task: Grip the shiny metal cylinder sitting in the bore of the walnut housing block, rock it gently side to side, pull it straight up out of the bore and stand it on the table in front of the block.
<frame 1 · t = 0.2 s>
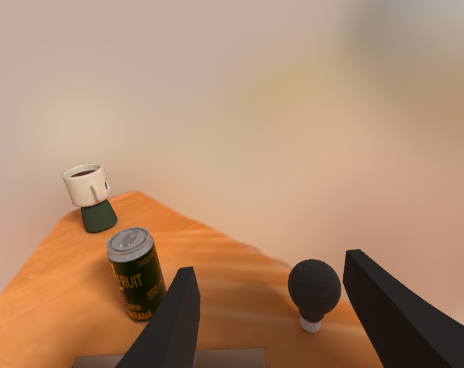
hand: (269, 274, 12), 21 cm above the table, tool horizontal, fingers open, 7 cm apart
green drink can: (150, 309, 36), on the table
character mug: (102, 226, 56), on the table
light bulb: (309, 328, 32), on the table
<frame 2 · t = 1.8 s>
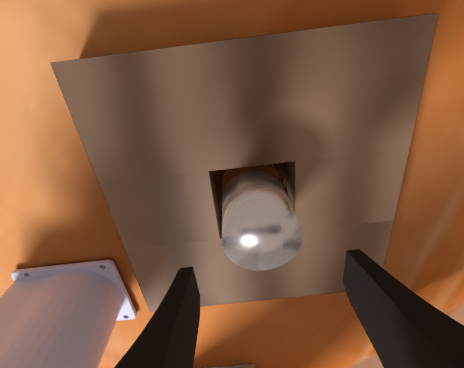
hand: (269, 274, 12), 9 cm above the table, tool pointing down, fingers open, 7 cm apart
shiny metal cylinder: (250, 182, 21), resting in housing block
housing block: (250, 183, 21), on the table
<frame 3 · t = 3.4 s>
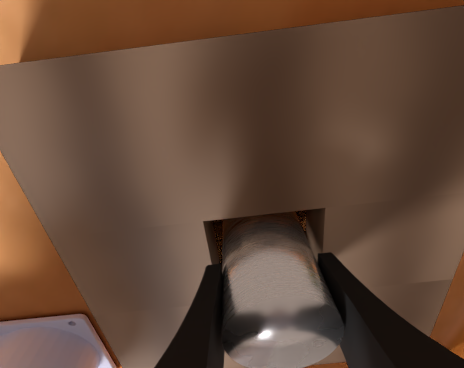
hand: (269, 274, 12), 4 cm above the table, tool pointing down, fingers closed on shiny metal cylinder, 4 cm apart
shiny metal cylinder: (259, 224, 16), resting in housing block, touching gripper
housing block: (259, 224, 16), on the table
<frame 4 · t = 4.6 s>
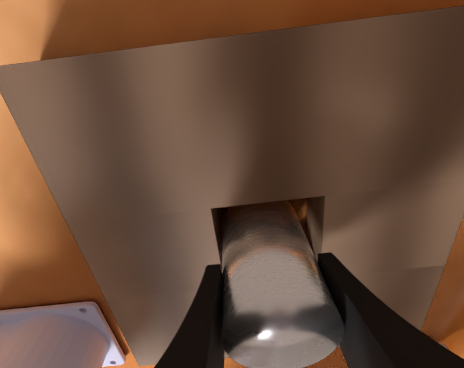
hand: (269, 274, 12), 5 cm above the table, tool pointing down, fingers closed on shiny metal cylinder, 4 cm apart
shiny metal cylinder: (259, 224, 16), point 1 cm above the table, touching gripper
housing block: (262, 214, 17), on the table
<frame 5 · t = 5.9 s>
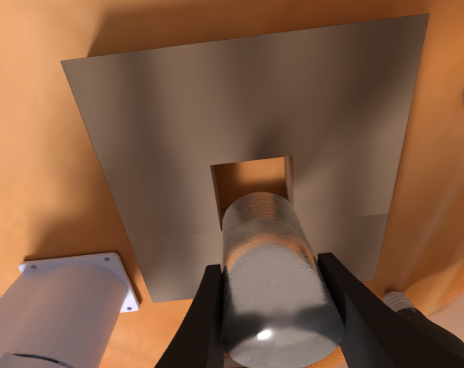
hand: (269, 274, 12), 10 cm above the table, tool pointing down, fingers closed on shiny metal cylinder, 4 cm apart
shiny metal cylinder: (259, 224, 16), point 6 cm above the table, touching gripper
light bulb: (388, 291, 29), on the table
housing block: (250, 177, 21), on the table
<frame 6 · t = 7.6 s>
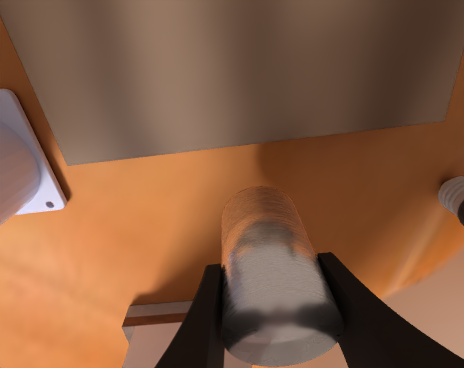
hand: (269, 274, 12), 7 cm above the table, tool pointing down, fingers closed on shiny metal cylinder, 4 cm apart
tall white column: (196, 336, 27), on the table
shiny metal cylinder: (259, 218, 16), point 3 cm above the table, touching gripper
light bulb: (444, 184, 19), on the table
when the fingers open (5 cm above the table, at t = 8.8 s): shiny metal cylinder drops 1 cm, on the table.
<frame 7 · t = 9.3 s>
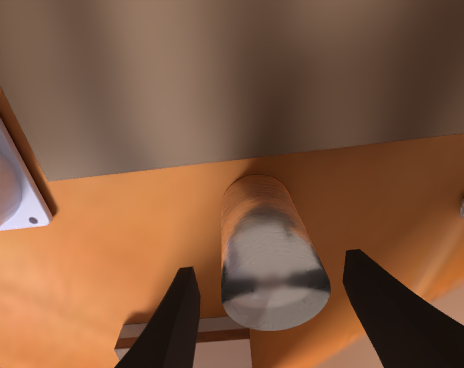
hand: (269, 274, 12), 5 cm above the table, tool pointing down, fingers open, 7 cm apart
tall white column: (195, 355, 25), on the table
shiny metal cylinder: (256, 205, 17), on the table
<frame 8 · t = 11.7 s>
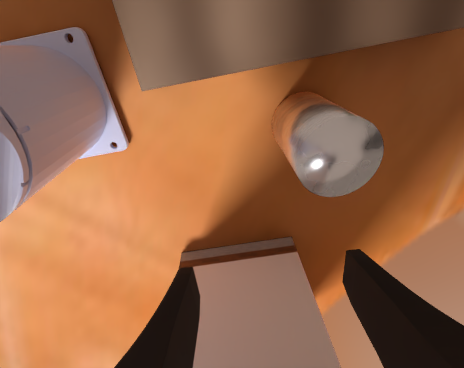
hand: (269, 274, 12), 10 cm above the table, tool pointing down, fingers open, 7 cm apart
tall white column: (243, 283, 28), on the table
shiny metal cylinder: (301, 122, 20), on the table
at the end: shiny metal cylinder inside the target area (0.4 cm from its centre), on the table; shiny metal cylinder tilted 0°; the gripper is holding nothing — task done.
